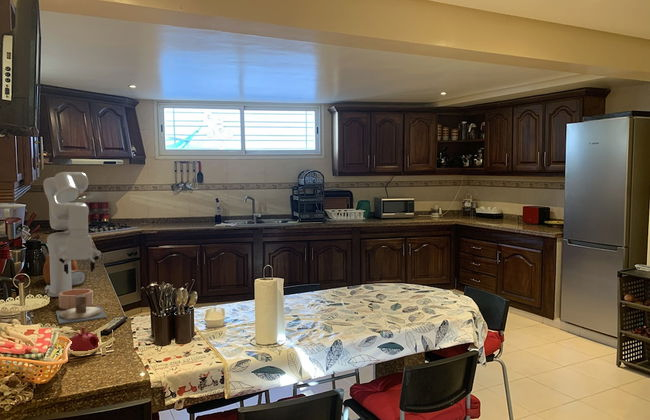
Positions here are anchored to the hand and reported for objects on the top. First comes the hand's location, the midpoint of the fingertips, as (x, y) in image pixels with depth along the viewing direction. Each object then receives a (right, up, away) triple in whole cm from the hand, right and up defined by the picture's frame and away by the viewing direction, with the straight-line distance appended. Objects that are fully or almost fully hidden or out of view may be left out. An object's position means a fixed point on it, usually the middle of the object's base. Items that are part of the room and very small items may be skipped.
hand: (79, 272), depth 212 cm
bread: (-46, -14, +71) cm, 86 cm away
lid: (0, -18, +1) cm, 18 cm away
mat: (0, -19, +1) cm, 19 cm away
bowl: (-10, -18, +18) cm, 27 cm away
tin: (-33, -15, +57) cm, 67 cm away
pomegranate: (+23, -23, -44) cm, 55 cm away
